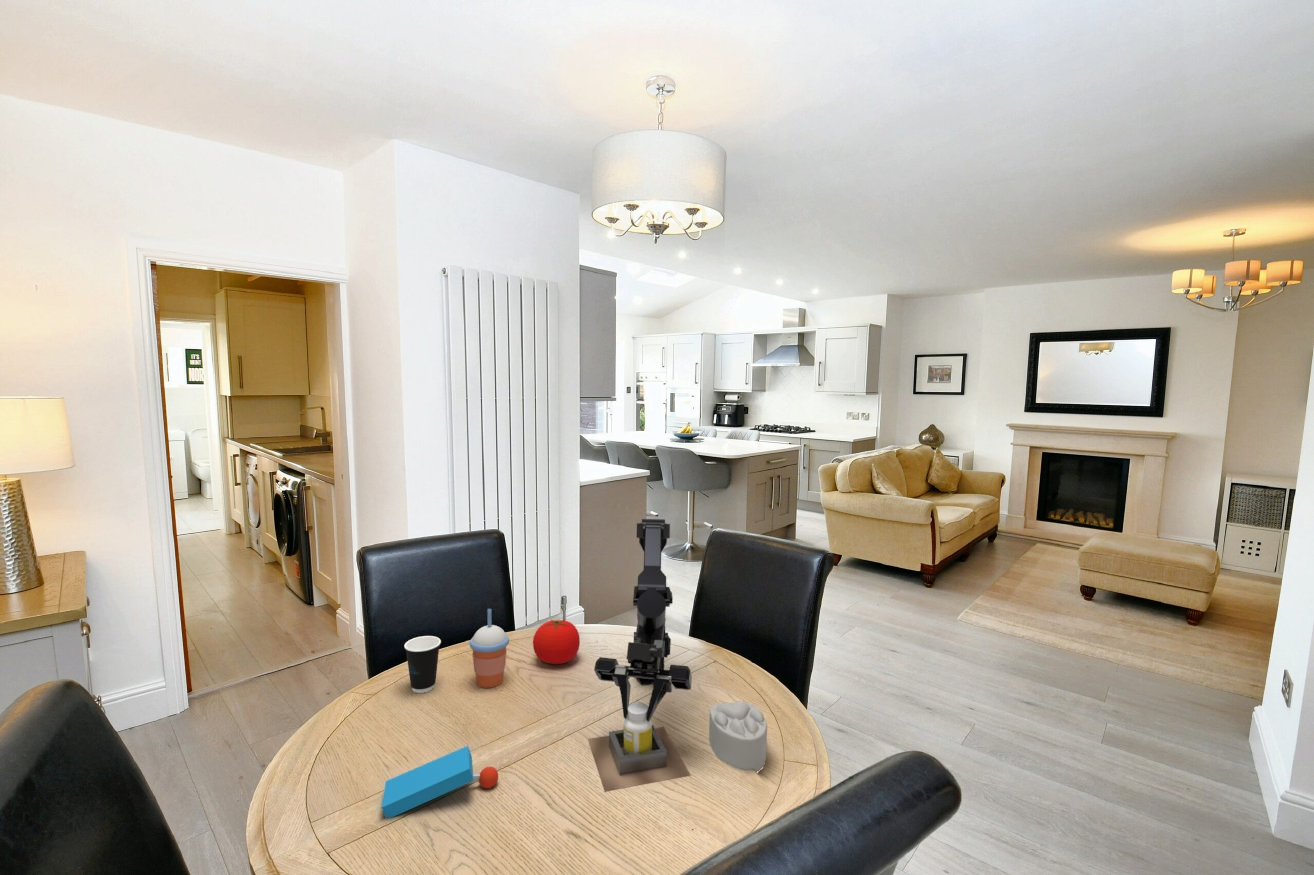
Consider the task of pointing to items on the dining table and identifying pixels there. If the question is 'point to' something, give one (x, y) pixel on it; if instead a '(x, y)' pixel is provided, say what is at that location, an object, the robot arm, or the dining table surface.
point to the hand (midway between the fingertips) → (636, 719)
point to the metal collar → (637, 754)
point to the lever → (433, 781)
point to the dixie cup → (422, 662)
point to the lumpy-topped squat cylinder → (738, 735)
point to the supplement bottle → (637, 730)
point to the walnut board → (616, 781)
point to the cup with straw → (489, 654)
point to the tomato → (556, 642)
